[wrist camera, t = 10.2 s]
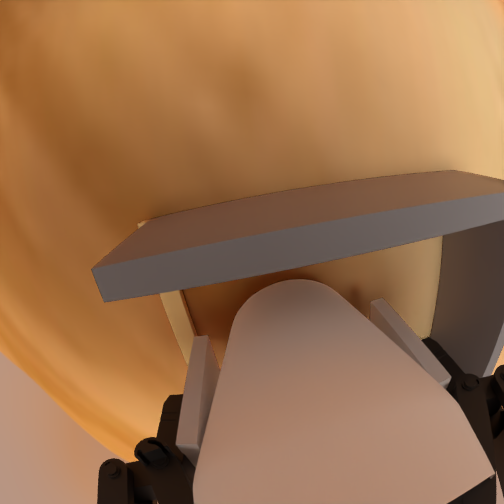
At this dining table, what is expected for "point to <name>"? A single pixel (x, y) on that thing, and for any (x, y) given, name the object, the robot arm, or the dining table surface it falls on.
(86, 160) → the dining table surface
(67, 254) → the dining table surface
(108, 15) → the dining table surface
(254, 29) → the dining table surface
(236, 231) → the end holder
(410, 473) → the cup
